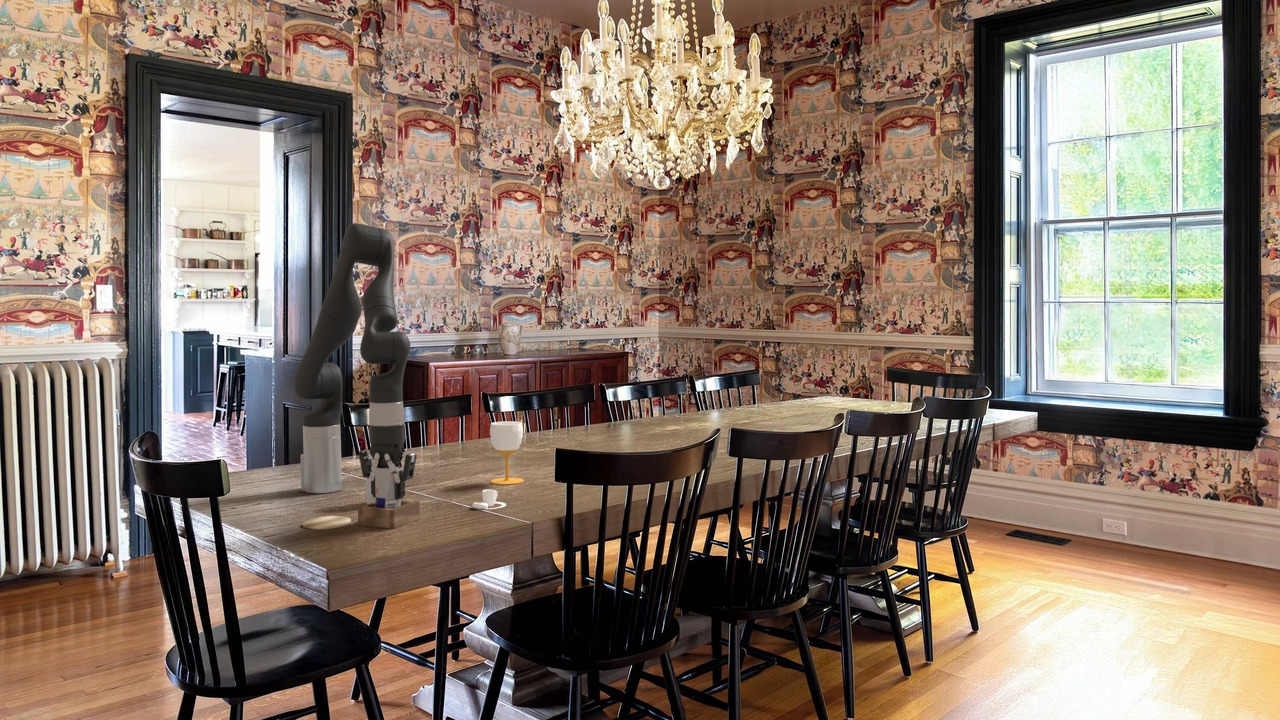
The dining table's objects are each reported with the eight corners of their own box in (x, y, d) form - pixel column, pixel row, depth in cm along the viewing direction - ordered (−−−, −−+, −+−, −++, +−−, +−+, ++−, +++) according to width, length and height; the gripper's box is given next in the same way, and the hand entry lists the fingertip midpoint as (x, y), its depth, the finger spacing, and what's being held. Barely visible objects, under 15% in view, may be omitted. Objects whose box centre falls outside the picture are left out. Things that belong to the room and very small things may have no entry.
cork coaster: (292, 527, 197) (292, 524, 197) (324, 517, 207) (324, 514, 207) (330, 530, 194) (330, 528, 194) (360, 520, 203) (360, 517, 203)
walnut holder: (358, 525, 199) (357, 507, 199) (384, 515, 208) (384, 498, 207) (394, 528, 196) (394, 510, 195) (419, 518, 204) (419, 501, 204)
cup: (506, 477, 254) (506, 420, 253) (530, 480, 249) (530, 422, 248) (483, 482, 247) (482, 423, 246) (507, 486, 241) (506, 426, 240)
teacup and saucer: (477, 513, 212) (477, 495, 212) (464, 506, 218) (463, 490, 218) (511, 508, 217) (511, 491, 216) (497, 502, 223) (497, 486, 223)
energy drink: (378, 517, 204) (377, 464, 203) (403, 516, 205) (402, 464, 204) (373, 523, 199) (372, 468, 198) (398, 522, 199) (397, 468, 198)
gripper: (348, 422, 199) (350, 499, 200) (404, 425, 194) (405, 504, 195) (370, 418, 206) (371, 492, 207) (424, 421, 201) (425, 497, 202)
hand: (388, 497), depth 201 cm, fingers closed on energy drink, 5 cm apart
